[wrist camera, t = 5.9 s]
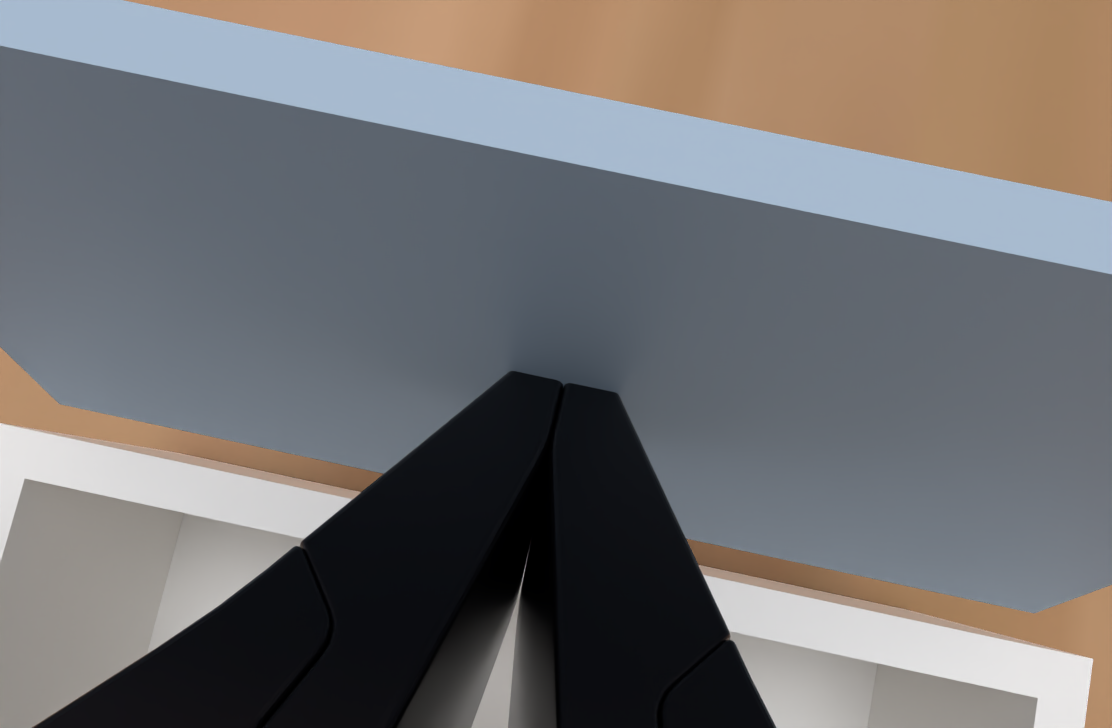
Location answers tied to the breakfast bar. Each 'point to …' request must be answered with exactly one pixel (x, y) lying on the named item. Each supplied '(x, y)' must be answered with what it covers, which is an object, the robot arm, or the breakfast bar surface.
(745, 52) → the breakfast bar surface
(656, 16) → the breakfast bar surface
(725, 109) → the breakfast bar surface
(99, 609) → the carton
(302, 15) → the breakfast bar surface
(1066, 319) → the flap
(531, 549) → the robot arm
